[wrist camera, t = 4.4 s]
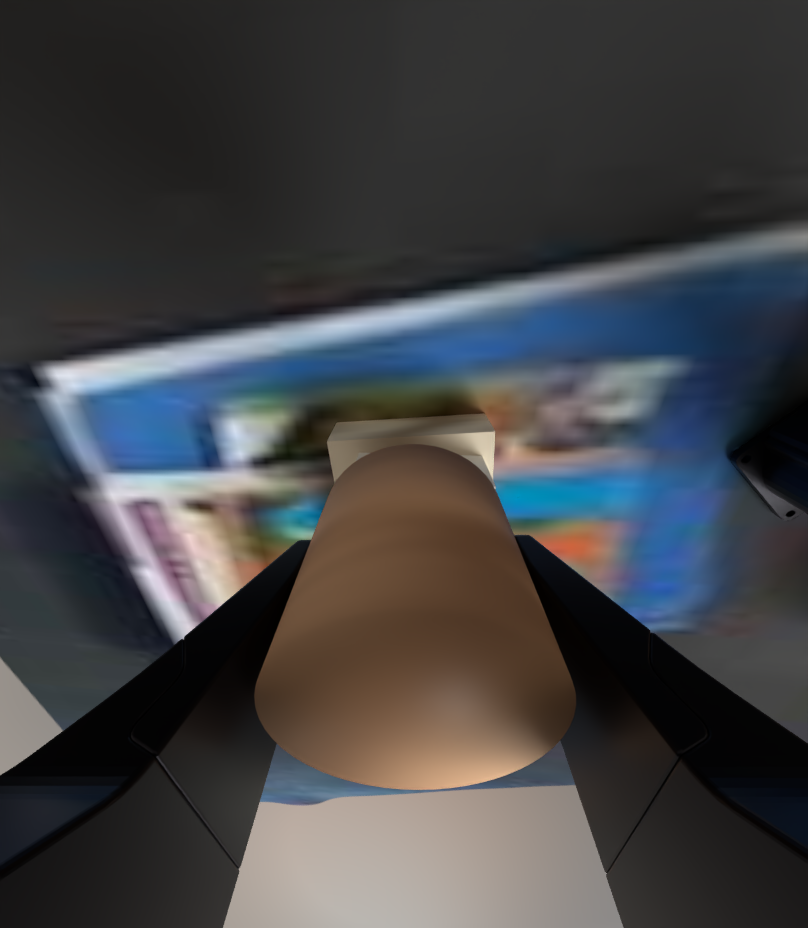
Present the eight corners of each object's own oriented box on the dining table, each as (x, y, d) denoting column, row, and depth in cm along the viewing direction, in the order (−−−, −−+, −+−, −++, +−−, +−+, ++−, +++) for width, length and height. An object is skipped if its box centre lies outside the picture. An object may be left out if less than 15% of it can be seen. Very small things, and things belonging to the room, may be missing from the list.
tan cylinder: (538, 520, 10) (641, 715, 5) (416, 610, 12) (419, 812, 7) (407, 404, 8) (403, 544, 4) (290, 527, 10) (196, 719, 6)
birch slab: (483, 410, 19) (495, 431, 16) (478, 528, 23) (488, 560, 20) (338, 419, 19) (326, 441, 17) (356, 533, 23) (350, 566, 21)
